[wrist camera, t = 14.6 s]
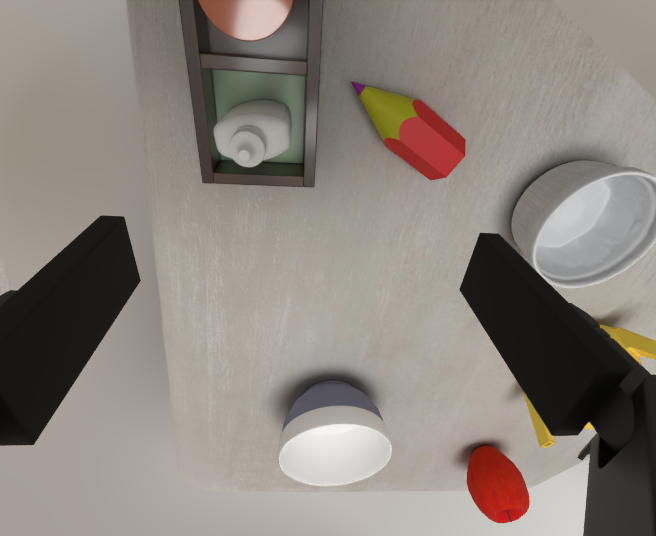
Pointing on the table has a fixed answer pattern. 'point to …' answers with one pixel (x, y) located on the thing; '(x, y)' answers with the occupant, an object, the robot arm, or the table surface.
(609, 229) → the ramekin
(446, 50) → the table surface
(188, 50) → the divided wooden box
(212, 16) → the glossy orange cylinder
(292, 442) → the bowl
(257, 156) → the eye dropper bottle
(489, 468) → the apple
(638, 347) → the teapot
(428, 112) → the pencil
